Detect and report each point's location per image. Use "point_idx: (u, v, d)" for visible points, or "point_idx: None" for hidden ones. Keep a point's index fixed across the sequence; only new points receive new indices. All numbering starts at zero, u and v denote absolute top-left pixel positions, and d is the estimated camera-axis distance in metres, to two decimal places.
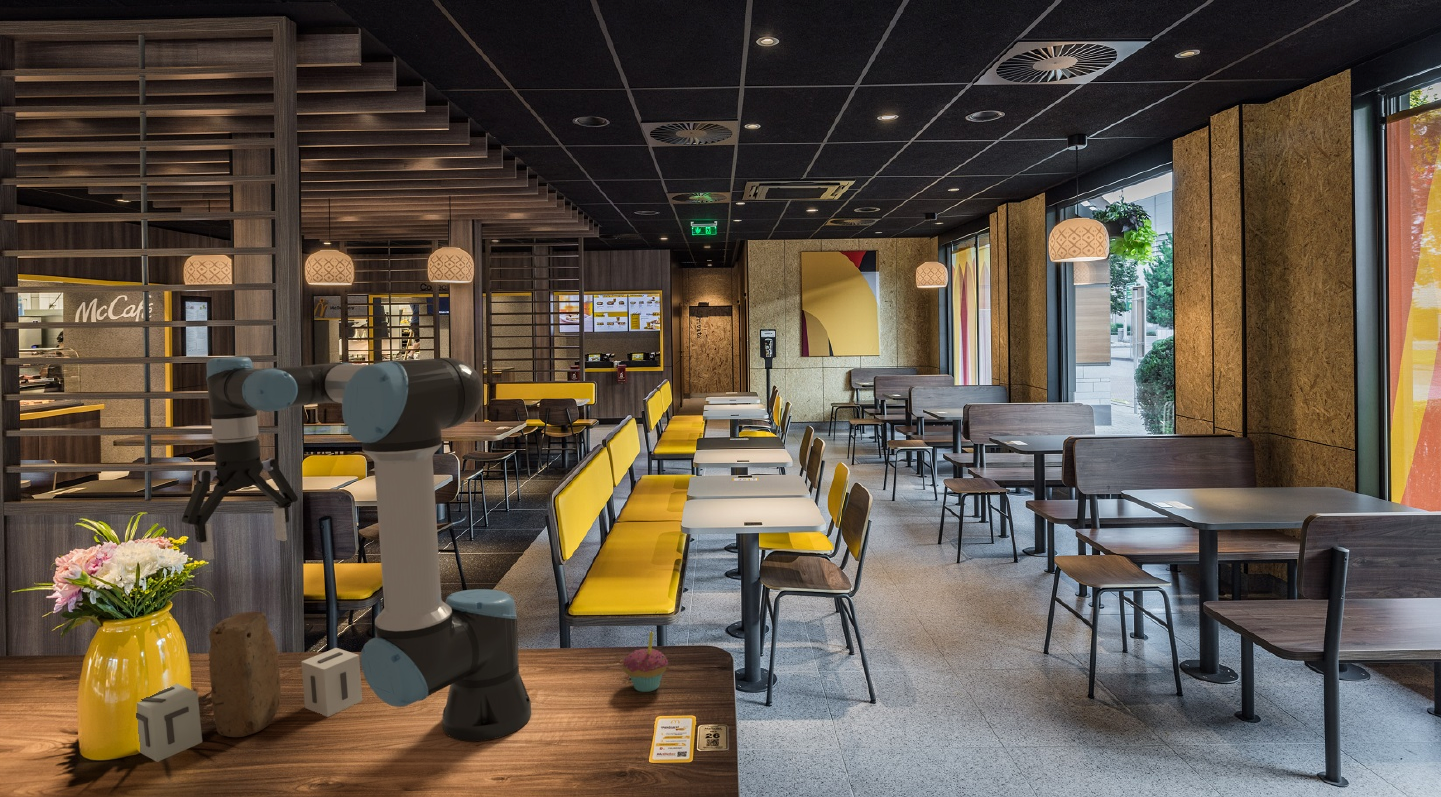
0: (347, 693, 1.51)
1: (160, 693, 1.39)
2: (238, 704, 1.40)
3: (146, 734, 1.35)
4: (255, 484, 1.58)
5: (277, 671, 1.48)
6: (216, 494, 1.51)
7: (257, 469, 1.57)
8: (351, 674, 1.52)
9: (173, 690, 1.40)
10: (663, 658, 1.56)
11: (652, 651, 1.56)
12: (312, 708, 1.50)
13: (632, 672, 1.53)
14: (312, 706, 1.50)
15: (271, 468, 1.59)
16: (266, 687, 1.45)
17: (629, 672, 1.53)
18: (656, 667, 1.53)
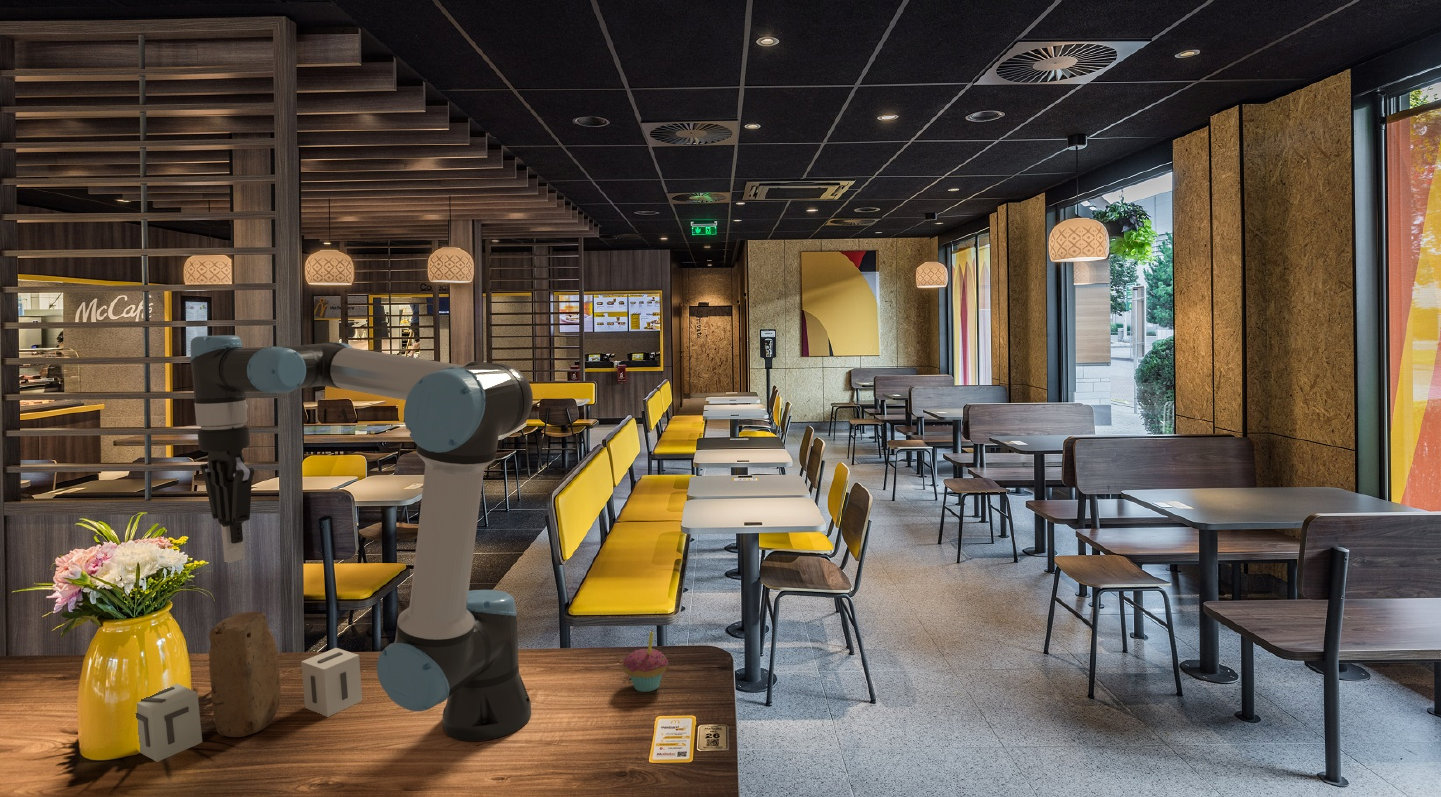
0: (347, 693, 1.51)
1: (160, 693, 1.39)
2: (238, 704, 1.40)
3: (146, 734, 1.35)
4: None
5: (277, 671, 1.48)
6: None
7: (227, 462, 1.38)
8: (351, 674, 1.52)
9: (173, 690, 1.40)
10: (663, 658, 1.56)
11: (652, 651, 1.56)
12: (312, 708, 1.50)
13: (632, 672, 1.53)
14: (312, 706, 1.50)
15: (234, 475, 1.37)
16: (266, 687, 1.45)
17: (629, 672, 1.53)
18: (656, 667, 1.53)
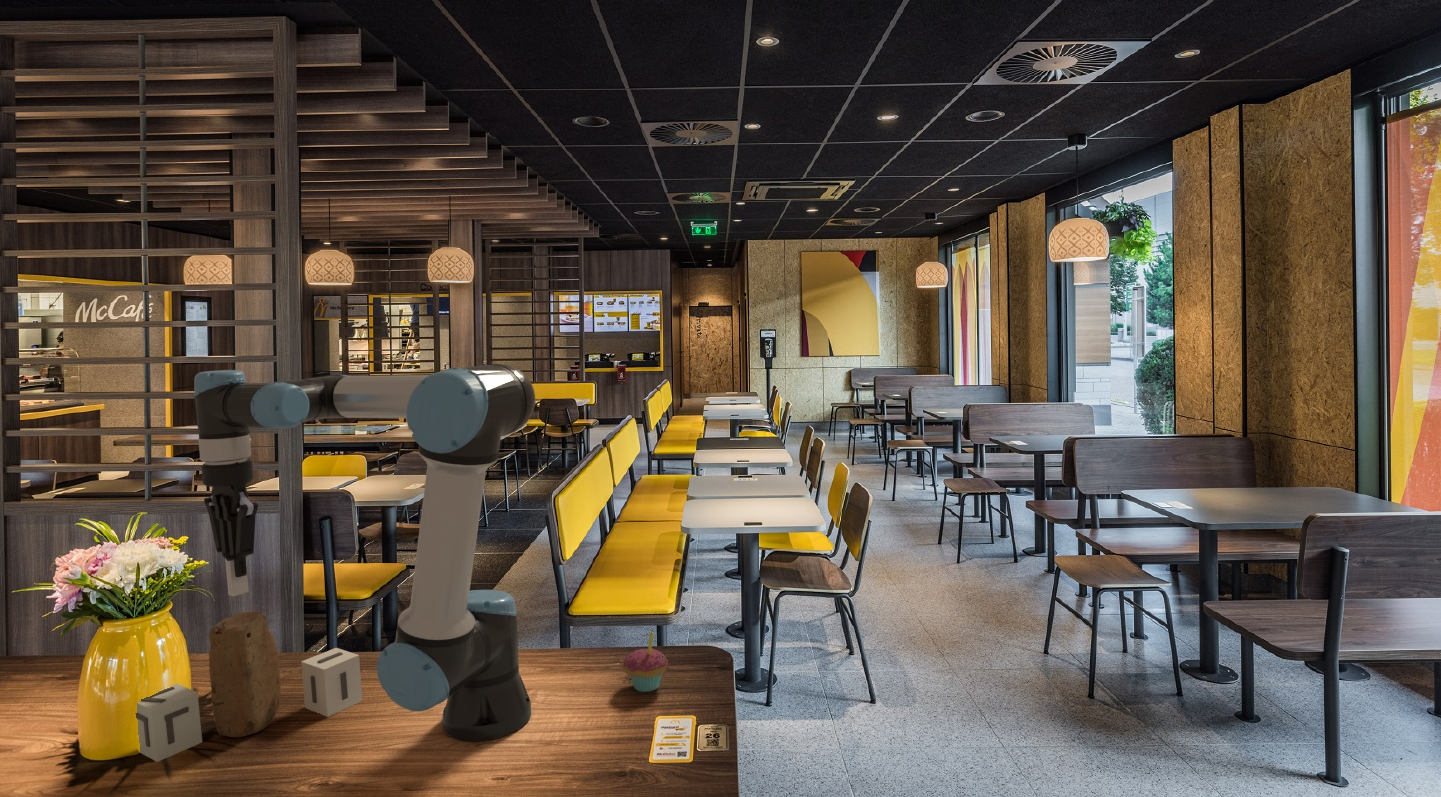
0: (347, 693, 1.51)
1: (160, 693, 1.39)
2: (238, 704, 1.40)
3: (146, 734, 1.35)
4: None
5: (277, 671, 1.48)
6: None
7: (231, 497, 1.39)
8: (351, 674, 1.52)
9: (173, 690, 1.40)
10: (663, 658, 1.56)
11: (652, 651, 1.56)
12: (312, 708, 1.50)
13: (632, 672, 1.53)
14: (312, 706, 1.50)
15: (237, 509, 1.38)
16: (266, 687, 1.45)
17: (629, 672, 1.53)
18: (656, 667, 1.53)
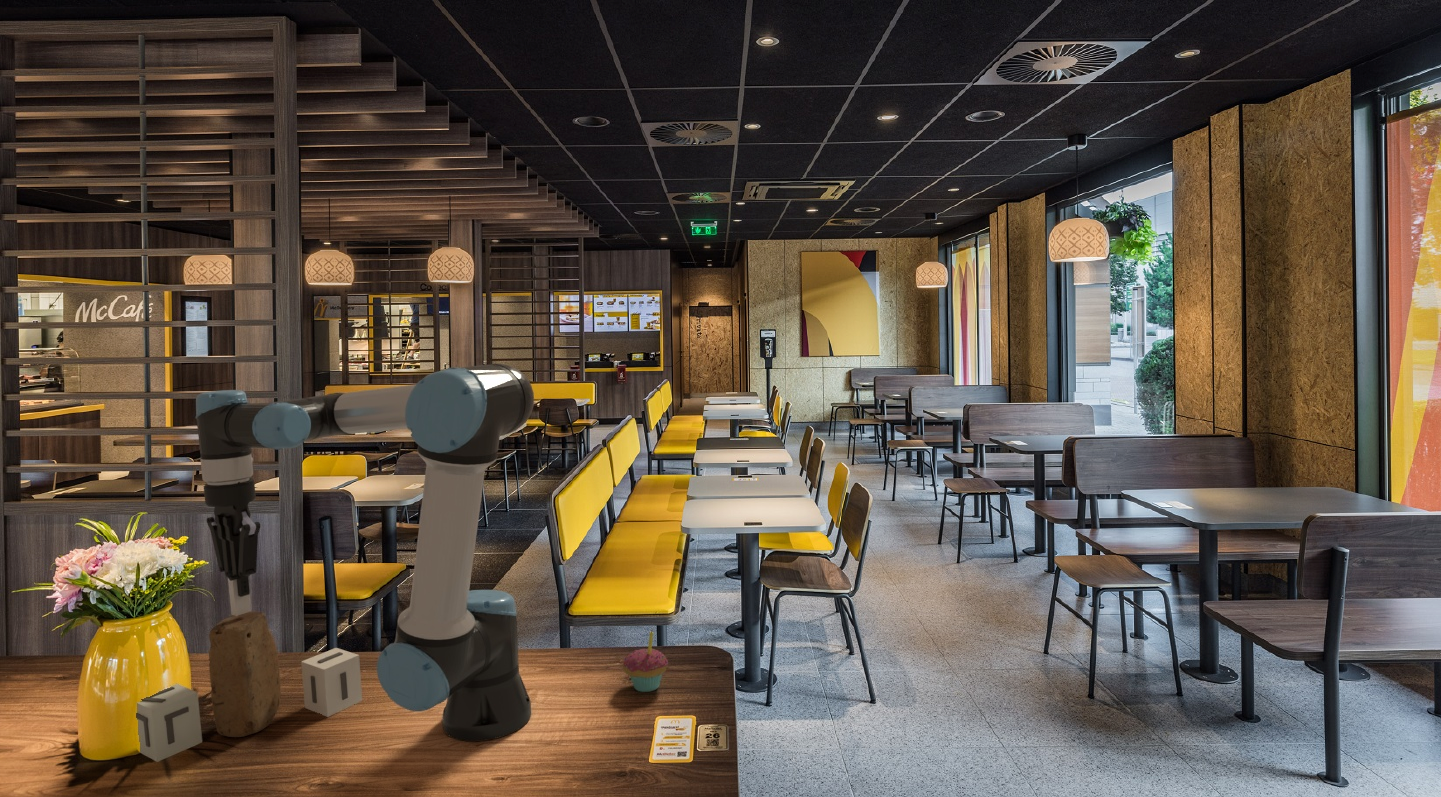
0: (347, 693, 1.51)
1: (160, 693, 1.39)
2: (238, 704, 1.40)
3: (146, 734, 1.35)
4: None
5: (277, 671, 1.48)
6: None
7: (233, 517, 1.39)
8: (351, 674, 1.52)
9: (173, 690, 1.40)
10: (663, 658, 1.56)
11: (652, 651, 1.56)
12: (312, 708, 1.50)
13: (632, 672, 1.53)
14: (312, 706, 1.50)
15: (240, 529, 1.38)
16: (266, 687, 1.45)
17: (629, 672, 1.53)
18: (656, 667, 1.53)
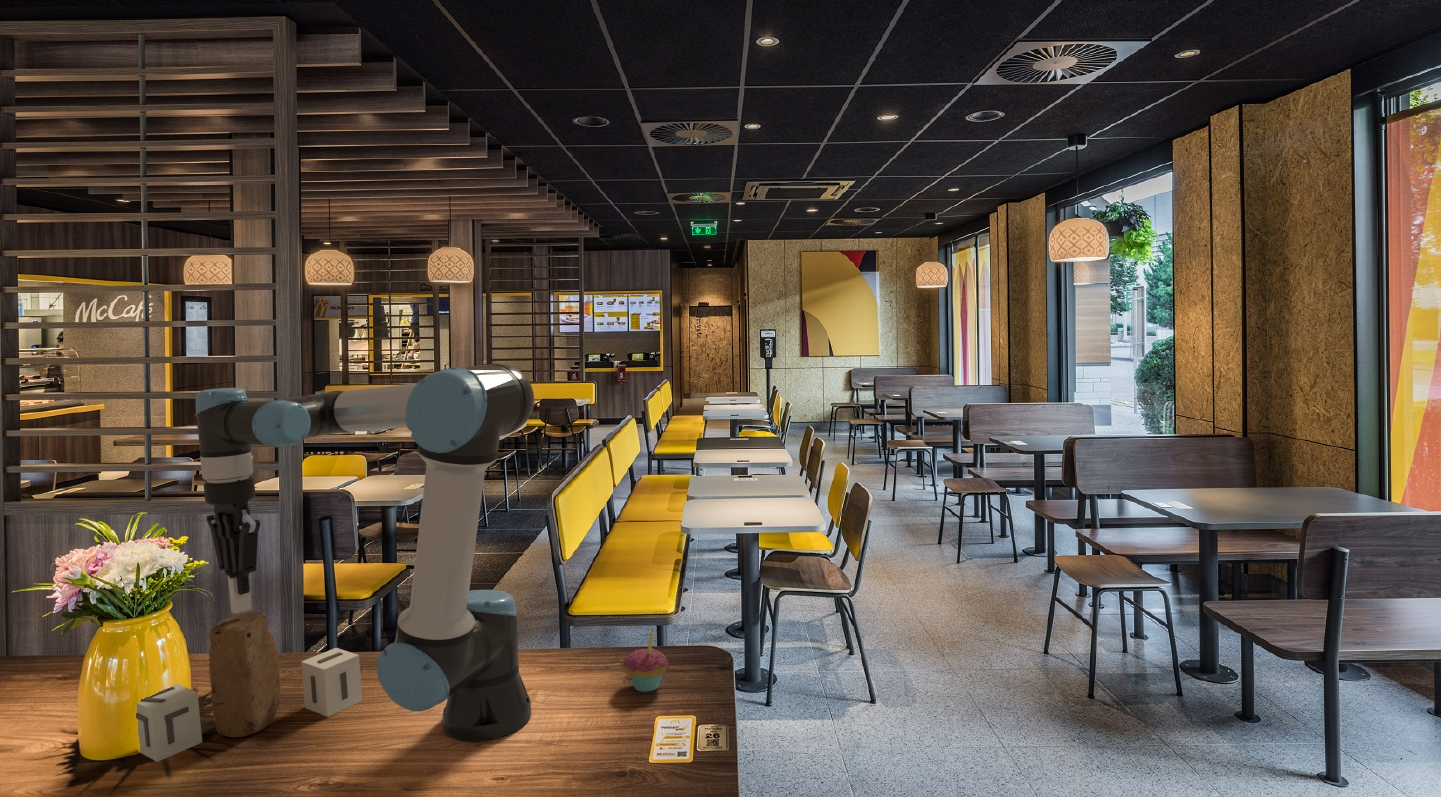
0: (347, 693, 1.51)
1: (160, 693, 1.39)
2: (238, 704, 1.40)
3: (146, 734, 1.35)
4: None
5: (277, 671, 1.48)
6: None
7: (233, 515, 1.39)
8: (351, 674, 1.52)
9: (173, 690, 1.40)
10: (663, 658, 1.56)
11: (652, 651, 1.56)
12: (312, 708, 1.50)
13: (632, 672, 1.53)
14: (312, 706, 1.50)
15: (240, 527, 1.38)
16: (266, 687, 1.45)
17: (629, 672, 1.53)
18: (656, 667, 1.53)
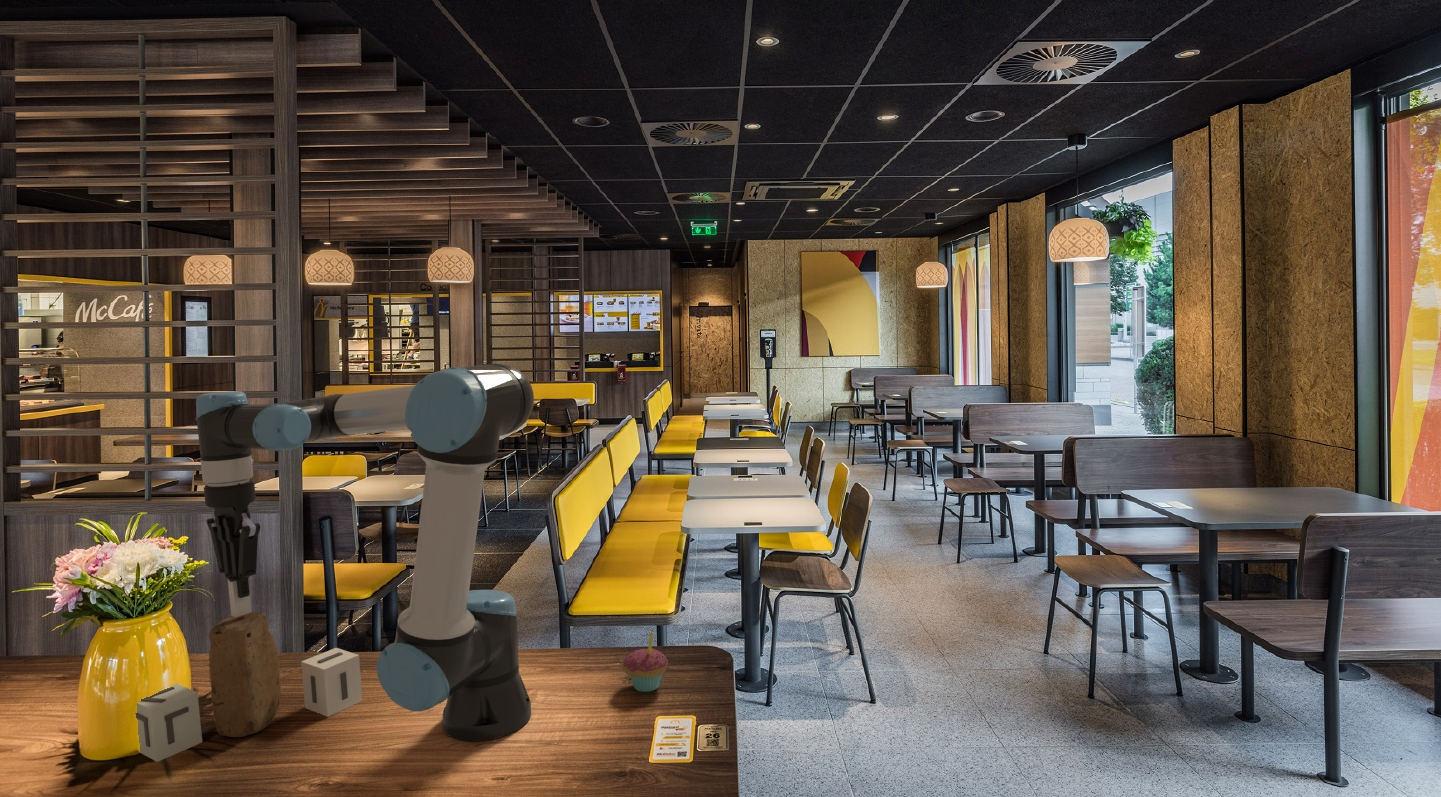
0: (347, 693, 1.51)
1: (160, 693, 1.39)
2: (238, 704, 1.40)
3: (146, 734, 1.35)
4: None
5: (277, 671, 1.48)
6: None
7: (233, 518, 1.39)
8: (351, 674, 1.52)
9: (173, 690, 1.40)
10: (663, 658, 1.56)
11: (652, 651, 1.56)
12: (312, 708, 1.50)
13: (632, 672, 1.53)
14: (312, 706, 1.50)
15: (240, 531, 1.38)
16: (266, 687, 1.45)
17: (629, 672, 1.53)
18: (656, 667, 1.53)
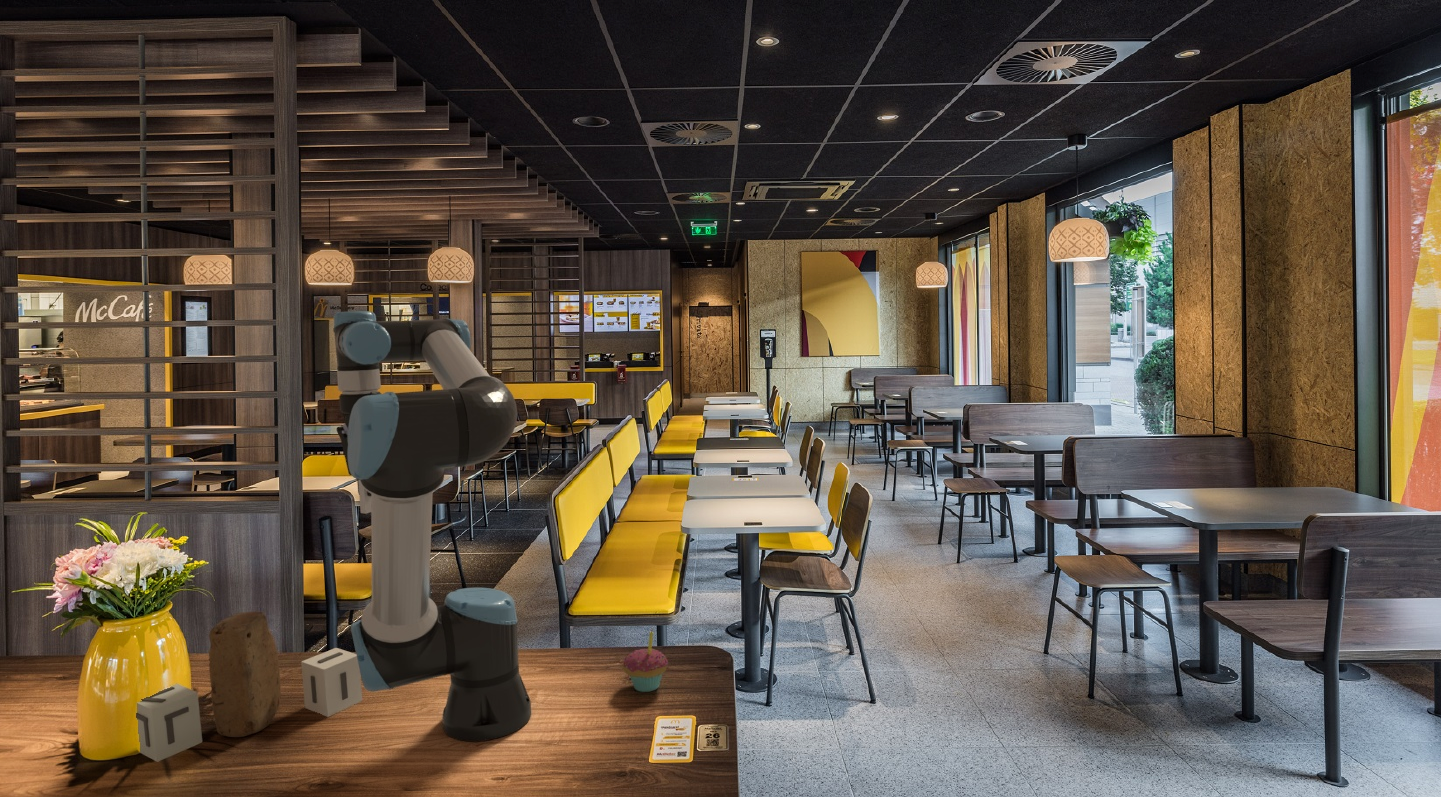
0: (347, 693, 1.51)
1: (160, 693, 1.39)
2: (238, 704, 1.40)
3: (146, 734, 1.35)
4: None
5: (277, 671, 1.48)
6: None
7: None
8: (351, 674, 1.52)
9: (173, 690, 1.40)
10: (663, 658, 1.56)
11: (652, 651, 1.56)
12: (312, 708, 1.50)
13: (632, 672, 1.53)
14: (312, 706, 1.50)
15: None
16: (266, 687, 1.45)
17: (629, 672, 1.53)
18: (656, 667, 1.53)
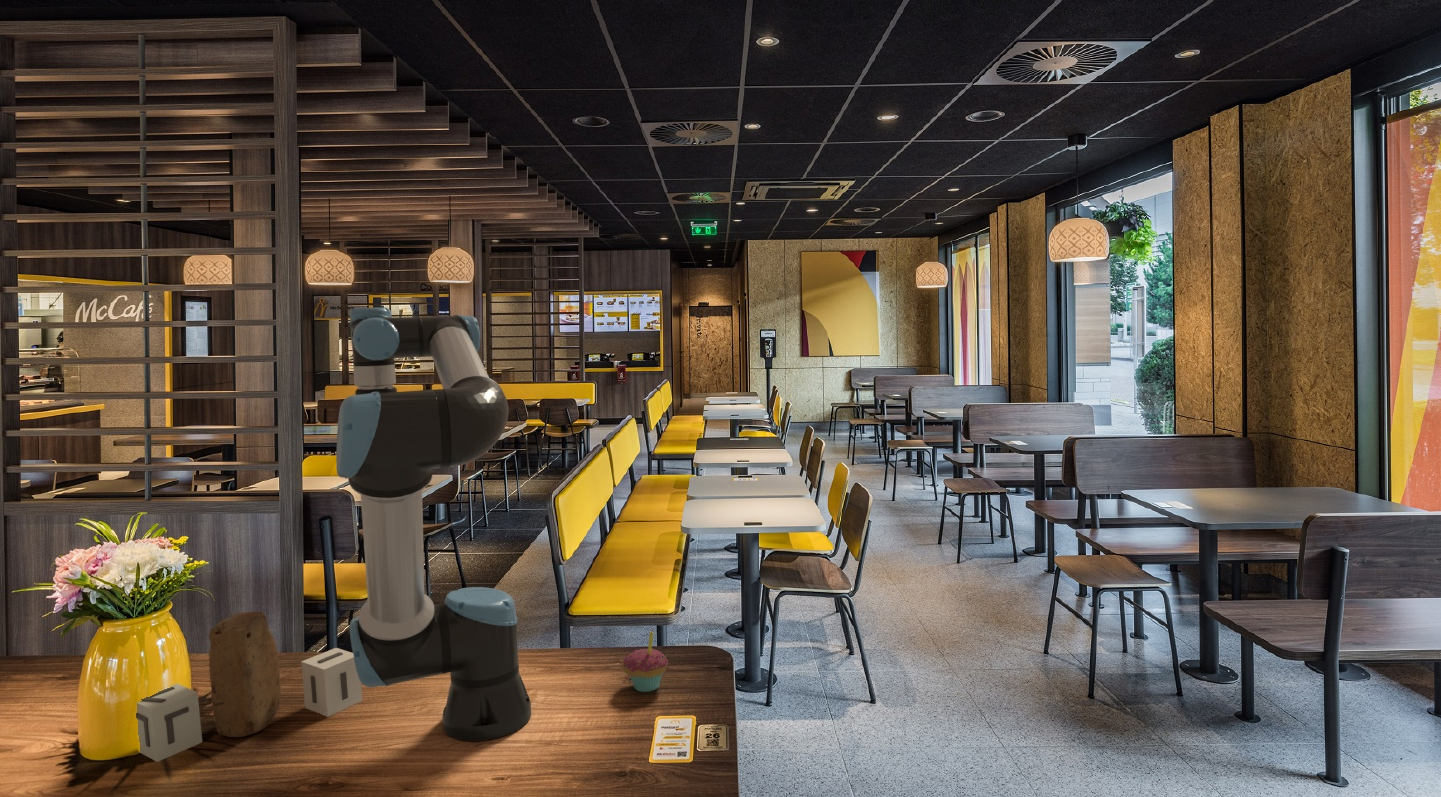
0: (347, 693, 1.51)
1: (160, 693, 1.39)
2: (238, 704, 1.40)
3: (146, 734, 1.35)
4: None
5: (277, 671, 1.48)
6: None
7: None
8: (351, 674, 1.52)
9: (173, 690, 1.40)
10: (663, 658, 1.56)
11: (652, 651, 1.56)
12: (312, 708, 1.50)
13: (632, 672, 1.53)
14: (312, 706, 1.50)
15: None
16: (266, 687, 1.45)
17: (629, 672, 1.53)
18: (656, 667, 1.53)
